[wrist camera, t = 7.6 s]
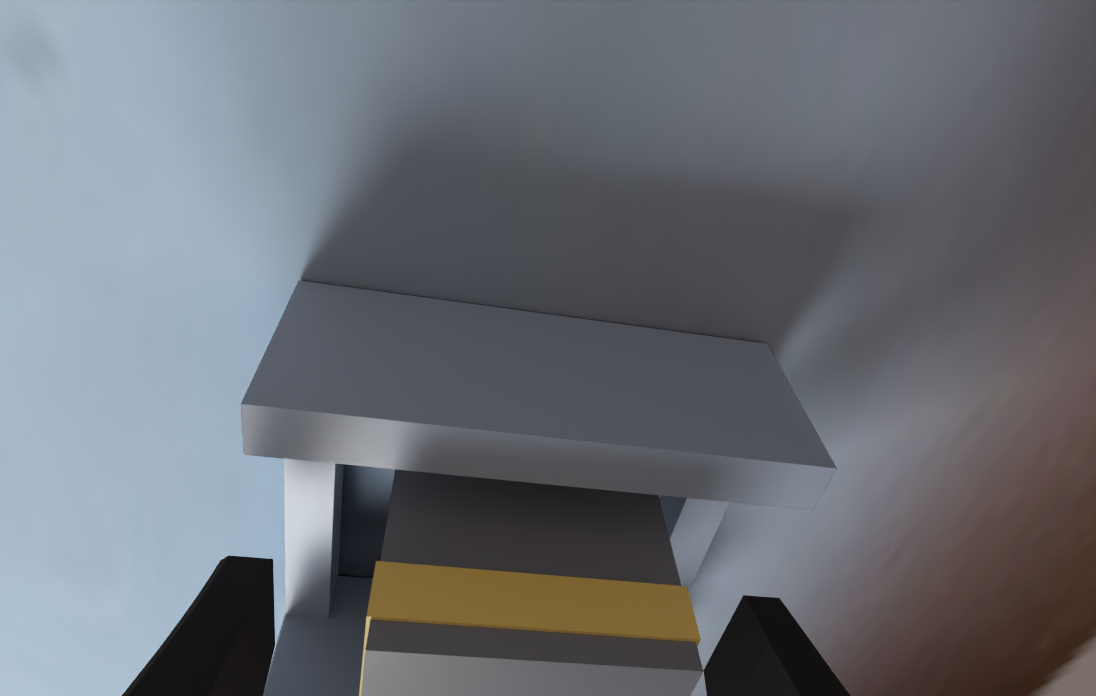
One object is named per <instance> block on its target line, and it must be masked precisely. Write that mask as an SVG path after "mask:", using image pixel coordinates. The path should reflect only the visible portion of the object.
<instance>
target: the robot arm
mask: <svg viewBox="0 0 1096 696" xmlns="http://www.w3.org/2000/svg"><path fill="white" fill-rule="evenodd" d="M274 647H275V628H274V585H273V559H264V558H252V557H239V556H227V557H226V558H224V559H222V560H221V561H220V562H219V564H218V565H217V567H216V569H215V570H214V572H213V573H212V575H211V577H210V578H209V580H208V581H207V583H206V584H205V586H204V587H203V588H202V590H201V591H200V593H199V594H198V596H197V597H196V599H195V600H194V602H193V603H192V605H191V606H190V607H189V609H188V610H187V612H186V613H185V614H184V616H183V617H182V619H181V620H180V621H179V623H178V624H177V625H176V627H175V628H174V629H173V631H172V632H171V633H170V635H169V636H168V637H167V639H166V640H165V641H164V643H163V644H162V645H161V647H160V648H159V649H158V651H157V652H156V653H155V655H154V656H153V657H152V658H151V660H150V661H149V662H148V663H147V665H146V666H145V667H144V668H143V670H142V671H141V672H140V673H139V675H138V676H137V677H136V679H135V680H134V681H133V682H132V684H131V685H130V686H129V687H128V689H127V690H126V691H125V692H124V694H123V695H122V696H263V694H264V690H265V686H266V681H267V677H268V673H269V668H270V664H271V660H272V655H273V651H274ZM704 676H705V683H706V691H707V696H850V695H849V693H848V692H847V691H846V689H845V688H844V687H843V685H842V684H841V683H840V681H839V680H838V678H837V677H836V676H835V674H834V673H833V672H832V670H831V669H830V667H829V666H828V665H827V663H826V662H825V661H824V659H823V658H822V656H821V655H820V654H819V652H818V651H817V649H816V648H815V647H814V645H813V644H812V643H811V641H810V640H809V638H808V637H807V636H806V634H805V633H804V631H803V630H802V629H801V627H800V626H799V624H798V623H797V622H796V620H795V619H794V618H793V616H792V615H791V613H790V612H789V611H788V609H787V608H786V607H785V605H784V604H783V603H782V601H781V600H780V598H770V597H757V596H744V595H743V597H742V599H741V601H740V603H739V605H738V607H737V609H736V611H735V612H734V614H733V616H732V618H731V620H730V622H729V624H728V626H727V627H726V629H725V631H724V633H723V635H722V637H721V639H720V641H719V643H718V644H717V646H716V648H715V650H714V652H713V654H712V656H711V658H710V660H709V661H708V663H707V665H706V667H705V669H704Z"/></svg>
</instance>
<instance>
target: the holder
mask: <svg viewBox="0 0 1096 696" xmlns="http://www.w3.org/2000/svg"><path fill="white" fill-rule="evenodd" d="M241 415H242V435H243V454H244V455H254V456H264V457H274V458H284V499H285V602H286V616H285V620H284V623H283V627H282V630H281V634H280V638H279V641H278V645H277V648H276V652H275V656H274V659H273V663H272V666H271V670H270V674H269V677H268V681H267V684H266V688H265V692H264V695H263V696H359V690H360V679H361V669H362V658H363V648H364V637H365V627H366V616H367V611H368V605H369V599H370V593H371V587H372V581H373V578H360V577H346V576H338V568H339V548H340V529H341V509H342V490H343V470H344V464H346V465H356V466H366V467H376V468H386V469H397V470H407V471H417V472H427V473H437V474H447V475H458V476H468V477H478V478H488V479H498V480H509V481H519V482H529V483H539V484H549V485H560V486H570V487H580V488H590V489H600V490H611V491H621V492H631V493H641V494H651V495H661V497H660V503H661V507H662V511H663V515H664V519H665V523H666V527H667V530H668V534H669V538H670V542H671V546H672V550H673V554H674V558H675V562H676V566H677V570H678V574H679V578H680V582H681V586H687V589H688V592H689V589H690V587H691V585H692V583H693V581H694V579H695V576H696V574H697V572H698V570H699V568H700V566H701V564H702V561H703V559H704V557H705V555H706V553H707V551H708V548H709V546H710V544H711V542H712V540H713V538H714V536H715V533H716V531H717V529H718V527H719V525H720V523H721V520H722V518H723V516H724V514H725V512H726V510H727V507H728V505H729V503H730V502H733V503H743V504H753V505H763V506H774V507H784V508H794V509H804V510H814V509H815V507H816V505H817V503H818V502H819V500H820V498H821V496H822V494H823V493H824V491H825V489H826V487H827V485H828V484H829V482H830V480H831V478H832V476H833V475H834V473H835V471H836V469H837V468H836V466H835V464H834V463H833V461H832V459H831V457H830V455H829V454H828V452H827V450H826V448H825V446H824V445H823V443H822V441H821V439H820V437H819V436H818V434H817V432H816V430H815V429H814V427H813V425H812V423H811V421H810V420H809V418H808V416H807V414H806V412H805V411H804V409H803V407H802V405H801V404H800V402H799V400H798V398H797V396H796V395H795V393H794V391H793V389H792V387H791V386H790V384H789V382H788V380H787V378H786V377H785V375H784V373H783V371H782V370H781V368H780V366H779V364H778V362H777V361H776V359H775V357H774V355H773V353H772V352H771V350H770V348H769V346H768V345H767V344H765V343H757V342H750V341H742V340H735V339H728V338H720V337H713V336H706V335H698V334H691V333H683V332H676V331H669V330H661V329H654V328H646V327H639V326H632V325H624V324H617V323H610V322H602V321H595V320H587V319H580V318H573V317H565V316H558V315H550V314H543V313H536V312H528V311H521V310H514V309H506V308H499V307H491V306H484V305H477V304H469V303H462V302H454V301H447V300H440V299H432V298H425V297H417V296H410V295H403V294H395V293H388V292H381V291H373V290H366V289H358V288H351V287H344V286H336V285H329V284H321V283H314V282H307V281H298V283H297V285H296V288H295V290H294V292H293V294H292V296H291V298H290V300H289V303H288V305H287V307H286V309H285V311H284V313H283V315H282V317H281V320H280V322H279V324H278V326H277V328H276V330H275V332H274V334H273V337H272V339H271V341H270V343H269V345H268V347H267V349H266V352H265V354H264V356H263V358H262V360H261V362H260V364H259V366H258V369H257V371H256V373H255V375H254V377H253V379H252V381H251V384H250V386H249V388H248V390H247V392H246V394H245V396H244V398H243V401H242V403H241Z"/></svg>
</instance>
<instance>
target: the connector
mask: <svg viewBox="0 0 1096 696" xmlns="http://www.w3.org/2000/svg"><path fill="white" fill-rule="evenodd" d="M700 640H701V639H700V635H699V631H698V627H697V623H696V620H695V616H694V612H693V608H692V604H691V600H690V597H689V593H688V589H687V586H681V582H680V578H679V574H678V570H677V566H676V562H675V558H674V554H673V550H672V546H671V542H670V538H669V534H668V530H667V527H666V523H665V519H664V515H663V511H662V507H661V503H660V499H659V495H651V494H641V493H631V492H621V491H611V490H600V489H590V488H580V487H570V486H560V485H549V484H539V483H529V482H519V481H509V480H498V479H488V478H478V477H468V476H458V475H447V474H437V473H427V472H417V471H407V470H397V469H396V470H395V476H394V482H393V488H392V494H391V500H390V506H389V512H388V518H387V524H386V530H385V536H384V542H383V548H382V554H381V560H380V561H376V564H375V570H374V576H373V581H372V587H371V593H370V599H369V605H368V611H367V616H366V627H365V637H364V648H363V658H362V669H361V679H360V690H359V696H690V695H691V693H692V691H693V690H694V688H695V686H696V684H697V682H698V680H699V678H700V677H701V675H702V673H703V669H702V665H701V661H700V657H699V653H698V649H697V646H698V644H699V642H700Z"/></svg>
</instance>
